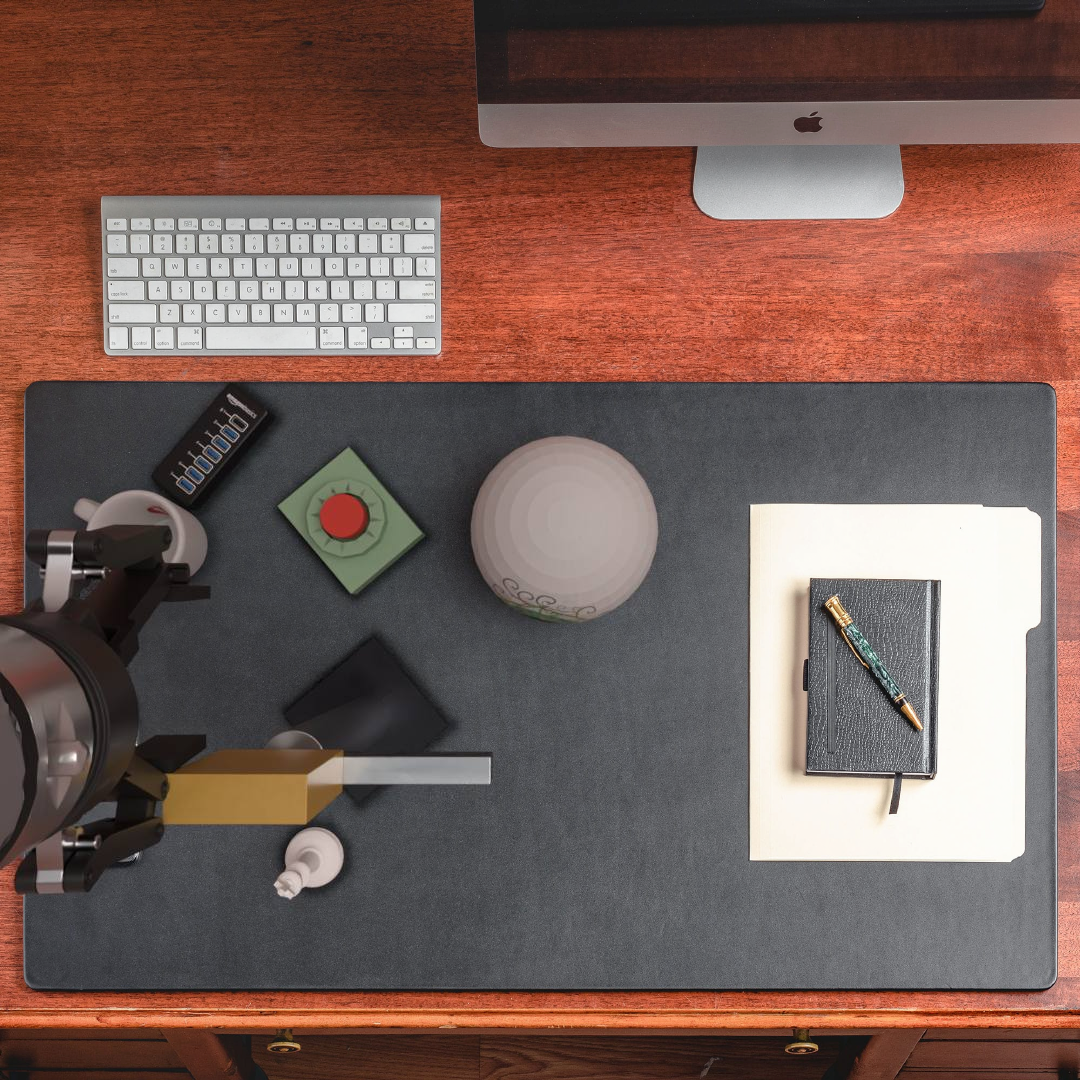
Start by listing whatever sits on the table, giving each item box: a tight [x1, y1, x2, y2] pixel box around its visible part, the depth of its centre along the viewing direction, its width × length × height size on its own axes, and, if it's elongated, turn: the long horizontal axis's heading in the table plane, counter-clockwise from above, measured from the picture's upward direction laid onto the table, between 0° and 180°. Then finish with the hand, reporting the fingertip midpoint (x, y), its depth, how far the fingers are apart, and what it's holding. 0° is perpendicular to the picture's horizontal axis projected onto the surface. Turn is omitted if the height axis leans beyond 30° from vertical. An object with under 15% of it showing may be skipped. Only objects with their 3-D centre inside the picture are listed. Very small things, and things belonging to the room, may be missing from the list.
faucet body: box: [263, 636, 450, 805], centre depth 65 cm, size 10×10×24 cm
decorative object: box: [470, 435, 659, 625], centre depth 71 cm, size 15×15×15 cm
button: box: [320, 494, 367, 539], centre depth 74 cm, size 4×4×2 cm
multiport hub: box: [150, 381, 276, 510], centre depth 78 cm, size 4×11×2 cm, turn 141°
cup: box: [73, 489, 209, 578], centre depth 74 cm, size 11×8×8 cm
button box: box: [277, 446, 426, 595], centre depth 76 cm, size 10×8×4 cm
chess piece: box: [273, 826, 344, 900], centre depth 71 cm, size 5×5×10 cm
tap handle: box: [161, 748, 494, 825], centre depth 48 cm, size 16×2×10 cm, turn 90°
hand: (183, 666), depth 50 cm, fingers open, 8 cm apart
